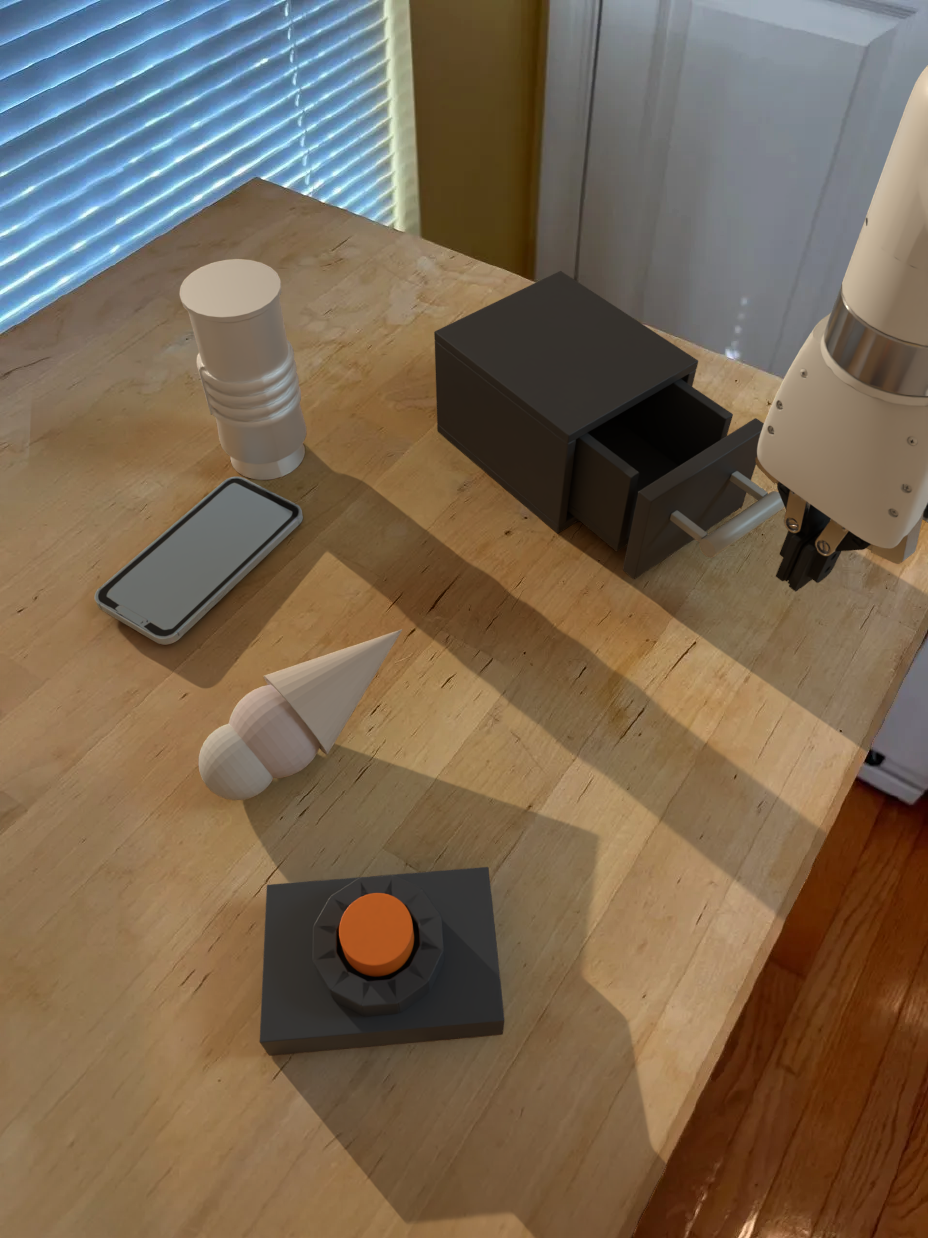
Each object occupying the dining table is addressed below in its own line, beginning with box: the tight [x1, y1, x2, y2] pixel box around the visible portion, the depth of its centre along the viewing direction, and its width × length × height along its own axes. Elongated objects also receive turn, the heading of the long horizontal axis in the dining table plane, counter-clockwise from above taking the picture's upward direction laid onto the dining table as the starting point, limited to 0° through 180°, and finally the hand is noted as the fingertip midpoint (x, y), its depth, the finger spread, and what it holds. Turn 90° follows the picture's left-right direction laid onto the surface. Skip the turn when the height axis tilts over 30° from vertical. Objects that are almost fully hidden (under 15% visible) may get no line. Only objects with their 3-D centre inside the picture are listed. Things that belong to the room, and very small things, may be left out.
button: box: [339, 893, 414, 977], centre depth 47 cm, size 4×4×2 cm
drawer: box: [567, 379, 785, 580], centre depth 67 cm, size 18×11×8 cm, turn 39°
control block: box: [259, 866, 505, 1057], centre depth 49 cm, size 12×8×4 cm, turn 95°
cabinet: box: [433, 270, 699, 534], centre depth 72 cm, size 15×13×10 cm
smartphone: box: [94, 476, 304, 645], centre depth 68 cm, size 7×1×15 cm
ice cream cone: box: [198, 628, 404, 801], centre depth 57 cm, size 6×6×15 cm
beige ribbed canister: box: [178, 258, 307, 481], centre depth 69 cm, size 7×7×15 cm
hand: (800, 573), depth 61 cm, fingers closed
